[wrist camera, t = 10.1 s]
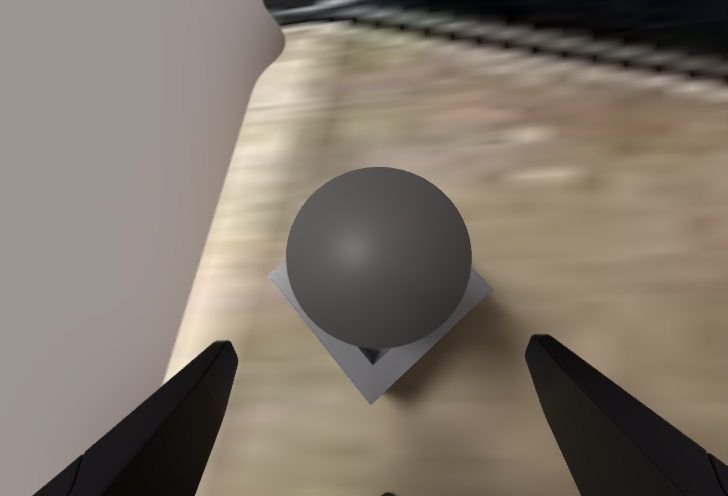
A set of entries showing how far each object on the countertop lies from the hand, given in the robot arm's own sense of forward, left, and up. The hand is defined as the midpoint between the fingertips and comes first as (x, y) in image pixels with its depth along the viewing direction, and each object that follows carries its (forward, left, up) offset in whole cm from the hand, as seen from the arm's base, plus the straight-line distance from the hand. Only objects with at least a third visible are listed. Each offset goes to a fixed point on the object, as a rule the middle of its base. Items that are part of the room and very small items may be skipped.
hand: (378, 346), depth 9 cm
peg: (+2, +2, -12) cm, 13 cm away
